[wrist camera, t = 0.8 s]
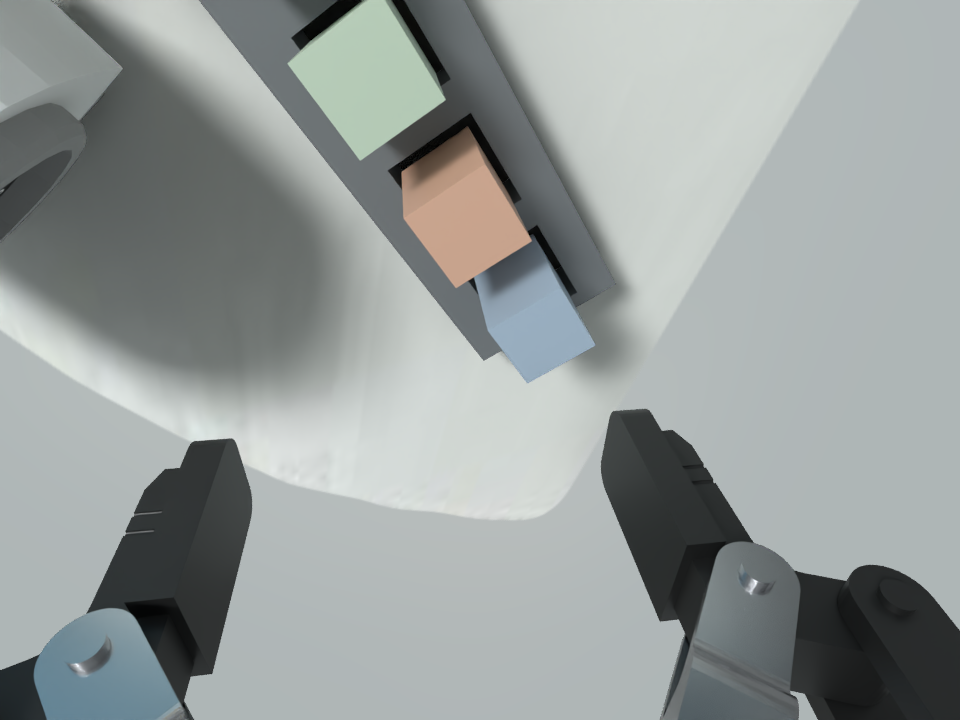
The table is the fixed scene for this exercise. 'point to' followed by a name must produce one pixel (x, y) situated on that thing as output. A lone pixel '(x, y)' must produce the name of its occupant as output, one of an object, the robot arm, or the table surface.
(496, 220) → the terracotta key
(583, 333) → the slate key
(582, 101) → the table surface
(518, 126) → the grey long flat block
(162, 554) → the robot arm
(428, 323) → the table surface
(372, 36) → the sage key
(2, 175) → the alarm clock
